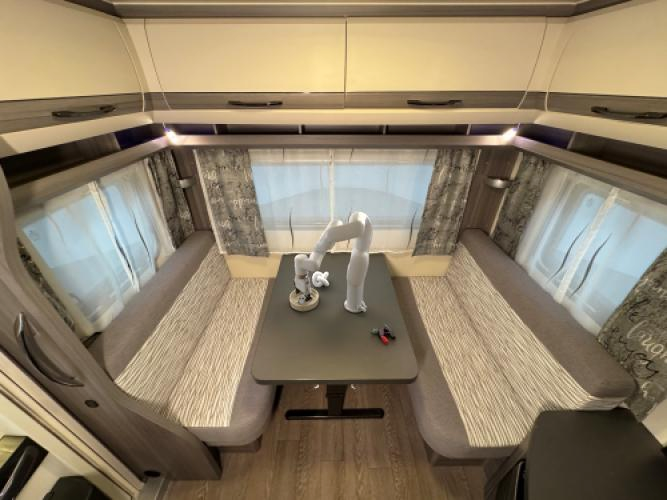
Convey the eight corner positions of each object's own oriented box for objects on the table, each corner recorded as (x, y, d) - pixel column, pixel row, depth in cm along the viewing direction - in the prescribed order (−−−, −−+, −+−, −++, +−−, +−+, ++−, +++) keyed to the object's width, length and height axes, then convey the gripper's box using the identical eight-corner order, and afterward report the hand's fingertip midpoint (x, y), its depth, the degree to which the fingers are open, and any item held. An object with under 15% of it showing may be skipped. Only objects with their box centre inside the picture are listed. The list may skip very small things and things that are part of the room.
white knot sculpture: (318, 277, 184) (318, 266, 179) (333, 281, 179) (333, 271, 174) (310, 286, 175) (309, 275, 171) (325, 291, 170) (325, 280, 166)
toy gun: (370, 330, 141) (371, 324, 138) (392, 329, 141) (393, 323, 139) (373, 345, 132) (374, 338, 130) (396, 344, 133) (397, 337, 130)
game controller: (304, 306, 156) (298, 298, 156) (300, 308, 159) (294, 301, 159) (313, 297, 163) (308, 290, 163) (309, 300, 166) (303, 292, 166)
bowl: (324, 301, 162) (324, 295, 160) (302, 316, 151) (302, 310, 149) (306, 288, 173) (305, 283, 171) (284, 301, 162) (283, 296, 160)
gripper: (316, 277, 148) (316, 300, 157) (297, 265, 159) (299, 287, 167) (306, 283, 144) (307, 306, 152) (287, 270, 154) (289, 292, 163)
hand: (303, 296), depth 160 cm, fingers open, 9 cm apart
